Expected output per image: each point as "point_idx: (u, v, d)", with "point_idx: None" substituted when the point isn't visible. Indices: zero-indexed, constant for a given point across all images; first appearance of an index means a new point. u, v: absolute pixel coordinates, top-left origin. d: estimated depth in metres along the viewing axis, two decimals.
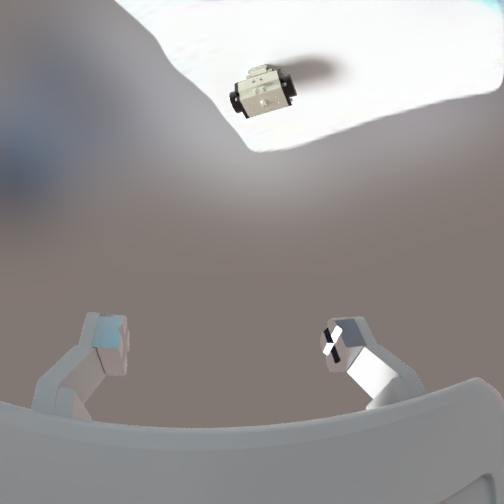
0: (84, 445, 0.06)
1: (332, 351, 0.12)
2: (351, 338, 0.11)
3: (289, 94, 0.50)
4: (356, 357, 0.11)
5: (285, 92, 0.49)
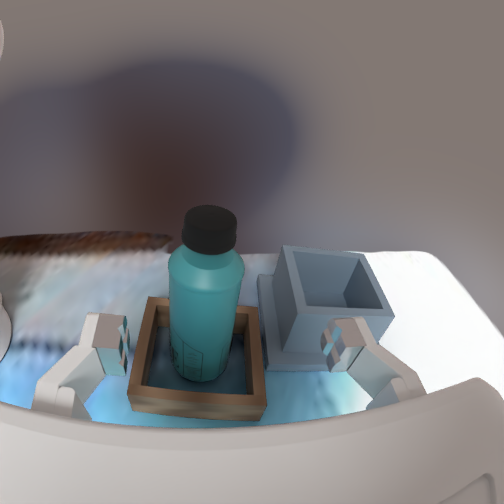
0: (84, 445, 0.06)
1: (332, 351, 0.12)
2: (351, 338, 0.11)
3: None
4: (357, 357, 0.11)
5: None
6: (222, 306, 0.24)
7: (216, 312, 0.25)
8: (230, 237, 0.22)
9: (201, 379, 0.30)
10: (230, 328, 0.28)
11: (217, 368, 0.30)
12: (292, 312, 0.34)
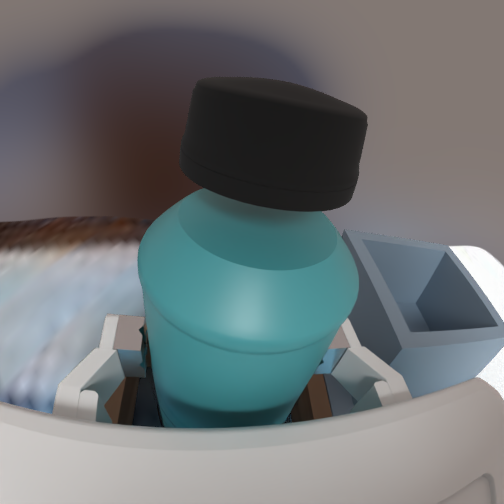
0: (84, 445, 0.06)
1: None
2: (334, 339, 0.11)
3: None
4: (340, 359, 0.11)
5: None
6: (301, 375, 0.08)
7: (283, 391, 0.08)
8: (356, 155, 0.06)
9: None
10: None
11: None
12: (384, 344, 0.17)
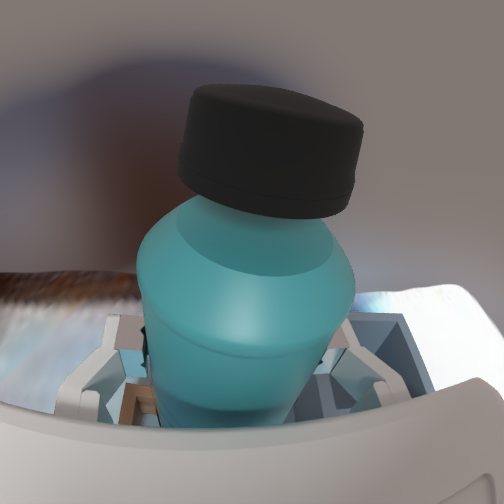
0: (84, 445, 0.06)
1: None
2: (333, 339, 0.11)
3: None
4: (340, 359, 0.11)
5: None
6: (298, 378, 0.08)
7: (280, 394, 0.08)
8: (352, 162, 0.06)
9: None
10: None
11: None
12: (316, 414, 0.23)
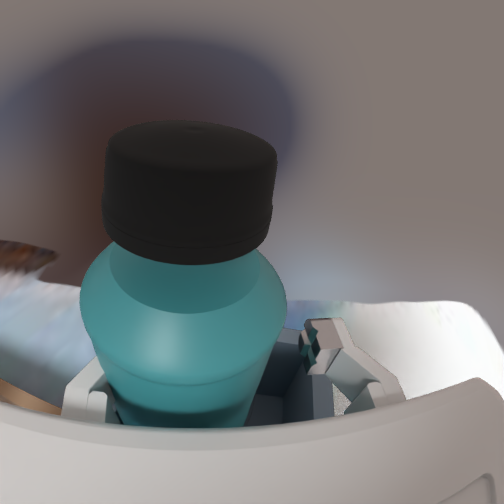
0: (84, 445, 0.06)
1: (309, 353, 0.12)
2: (327, 340, 0.11)
3: None
4: (334, 359, 0.11)
5: None
6: (230, 401, 0.08)
7: (215, 414, 0.08)
8: (260, 202, 0.06)
9: None
10: (244, 419, 0.12)
11: None
12: None
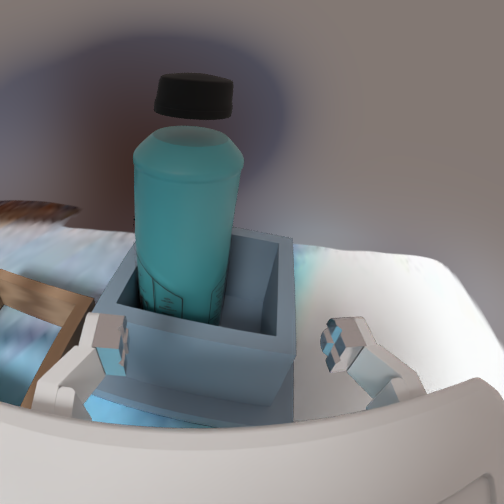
0: (84, 445, 0.06)
1: (332, 351, 0.12)
2: (351, 338, 0.11)
3: None
4: (357, 357, 0.11)
5: None
6: (210, 210, 0.16)
7: (202, 221, 0.16)
8: (224, 98, 0.14)
9: None
10: (223, 260, 0.19)
11: None
12: None
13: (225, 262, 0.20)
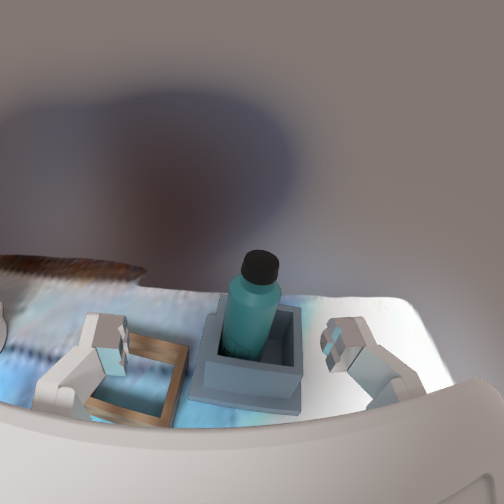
0: (84, 445, 0.06)
1: (332, 351, 0.12)
2: (351, 338, 0.11)
3: None
4: (357, 357, 0.11)
5: None
6: (267, 317, 0.36)
7: (263, 322, 0.36)
8: (276, 273, 0.34)
9: None
10: (268, 332, 0.39)
11: (256, 361, 0.42)
12: None
13: None
